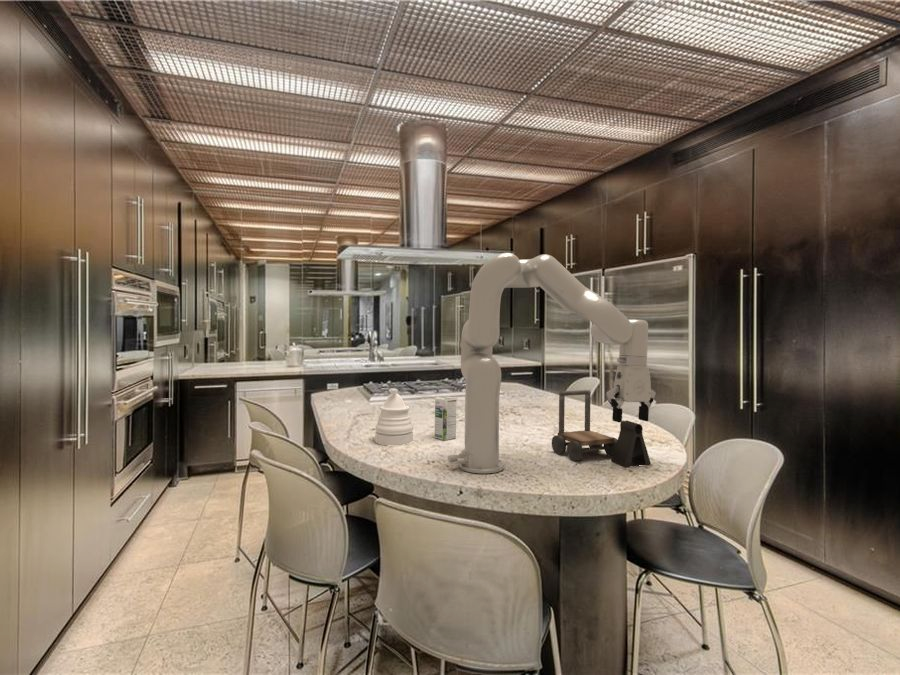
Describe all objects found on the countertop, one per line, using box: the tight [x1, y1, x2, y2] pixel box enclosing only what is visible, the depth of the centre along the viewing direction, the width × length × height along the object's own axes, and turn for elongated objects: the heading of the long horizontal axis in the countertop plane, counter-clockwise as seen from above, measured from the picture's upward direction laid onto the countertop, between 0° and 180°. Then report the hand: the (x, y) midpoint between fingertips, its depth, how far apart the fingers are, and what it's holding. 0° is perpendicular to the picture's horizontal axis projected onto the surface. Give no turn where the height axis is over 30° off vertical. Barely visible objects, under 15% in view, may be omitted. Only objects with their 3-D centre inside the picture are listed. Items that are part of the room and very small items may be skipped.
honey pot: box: [374, 388, 414, 446], centre depth 158 cm, size 13×13×18 cm
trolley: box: [551, 389, 618, 462], centre depth 142 cm, size 15×14×19 cm
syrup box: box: [433, 396, 458, 441], centre depth 163 cm, size 6×6×14 cm
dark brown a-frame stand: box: [611, 419, 652, 468], centre depth 134 cm, size 9×6×12 cm, turn 107°
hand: (630, 421), depth 133 cm, fingers open, 9 cm apart
